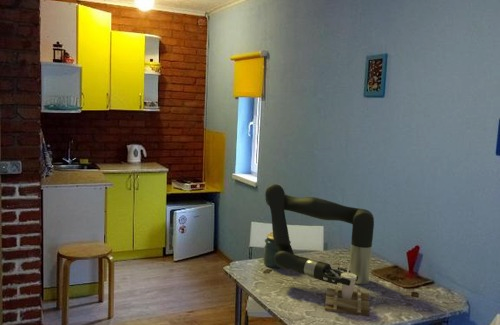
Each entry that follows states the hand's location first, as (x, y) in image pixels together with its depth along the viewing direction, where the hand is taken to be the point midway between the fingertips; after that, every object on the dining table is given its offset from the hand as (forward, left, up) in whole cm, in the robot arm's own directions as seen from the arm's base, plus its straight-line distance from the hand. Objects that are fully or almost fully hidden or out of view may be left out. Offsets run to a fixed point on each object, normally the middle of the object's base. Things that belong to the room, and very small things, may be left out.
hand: (353, 280), depth 193 cm
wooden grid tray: (-1, -2, -11) cm, 11 cm away
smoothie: (-1, -2, -8) cm, 9 cm away
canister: (-40, -37, -11) cm, 55 cm away
